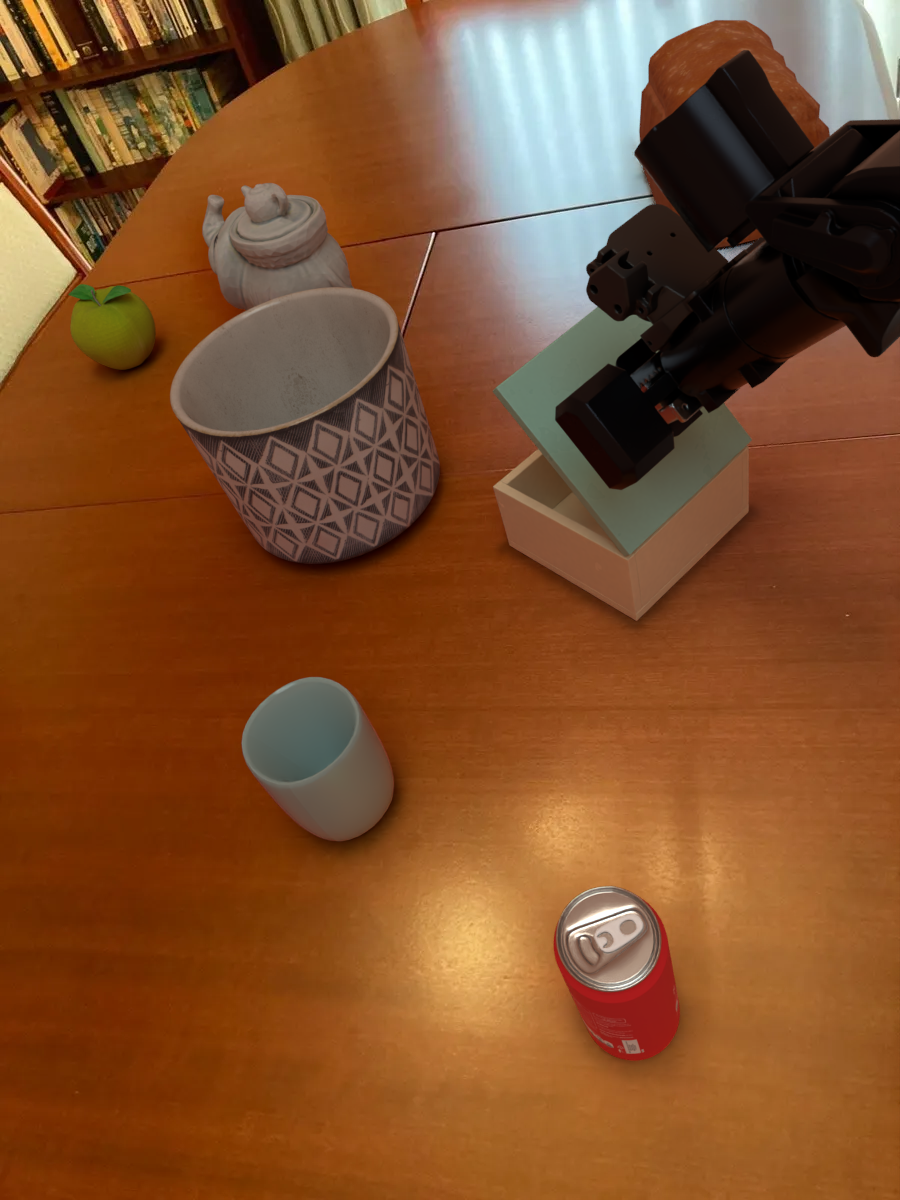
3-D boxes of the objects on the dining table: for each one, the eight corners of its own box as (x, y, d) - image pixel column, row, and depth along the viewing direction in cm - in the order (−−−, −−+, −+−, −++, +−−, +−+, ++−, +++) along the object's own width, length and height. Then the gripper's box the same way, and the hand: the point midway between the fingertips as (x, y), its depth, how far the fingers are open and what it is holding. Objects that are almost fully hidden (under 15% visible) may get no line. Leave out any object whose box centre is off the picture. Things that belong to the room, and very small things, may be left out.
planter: (481, 443, 83) (436, 287, 71) (394, 597, 73) (324, 445, 61) (314, 427, 91) (249, 285, 79) (215, 563, 81) (123, 424, 69)
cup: (341, 880, 58) (283, 810, 50) (279, 808, 63) (218, 735, 55) (429, 799, 60) (385, 721, 53) (362, 735, 65) (314, 655, 57)
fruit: (129, 337, 115) (87, 267, 107) (182, 341, 110) (142, 269, 103) (85, 381, 110) (38, 311, 103) (138, 387, 106) (92, 315, 98)
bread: (778, 128, 108) (782, -10, 97) (837, 223, 92) (850, 70, 81) (637, 164, 111) (625, 34, 100) (671, 262, 95) (661, 119, 84)
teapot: (247, 321, 110) (176, 171, 96) (362, 283, 109) (306, 126, 95) (248, 395, 99) (168, 238, 85) (376, 354, 97) (316, 188, 84)
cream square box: (509, 545, 74) (492, 486, 69) (616, 451, 78) (607, 389, 73) (636, 621, 65) (627, 560, 60) (749, 511, 69) (749, 446, 64)
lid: (491, 391, 59) (495, 387, 58) (624, 286, 63) (630, 280, 62) (624, 557, 60) (630, 554, 60) (746, 443, 65) (752, 439, 64)
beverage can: (568, 992, 50) (531, 913, 41) (648, 948, 50) (627, 861, 42) (615, 1084, 46) (585, 1019, 38) (700, 1036, 47) (690, 960, 38)
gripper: (785, 97, 48) (642, 243, 63) (552, 274, 42) (455, 389, 57) (905, 261, 49) (737, 367, 64) (694, 456, 43) (562, 522, 58)
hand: (626, 406), depth 61 cm, fingers closed
